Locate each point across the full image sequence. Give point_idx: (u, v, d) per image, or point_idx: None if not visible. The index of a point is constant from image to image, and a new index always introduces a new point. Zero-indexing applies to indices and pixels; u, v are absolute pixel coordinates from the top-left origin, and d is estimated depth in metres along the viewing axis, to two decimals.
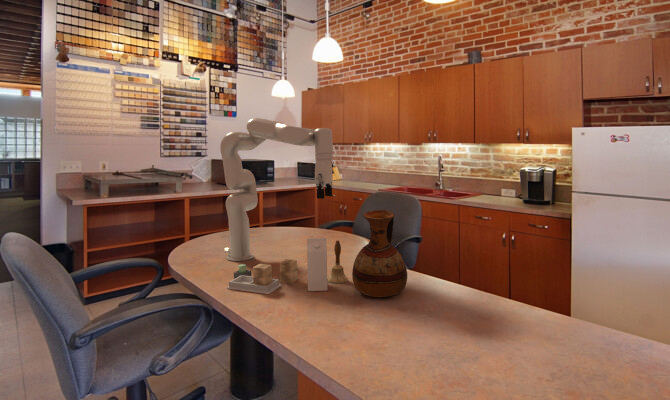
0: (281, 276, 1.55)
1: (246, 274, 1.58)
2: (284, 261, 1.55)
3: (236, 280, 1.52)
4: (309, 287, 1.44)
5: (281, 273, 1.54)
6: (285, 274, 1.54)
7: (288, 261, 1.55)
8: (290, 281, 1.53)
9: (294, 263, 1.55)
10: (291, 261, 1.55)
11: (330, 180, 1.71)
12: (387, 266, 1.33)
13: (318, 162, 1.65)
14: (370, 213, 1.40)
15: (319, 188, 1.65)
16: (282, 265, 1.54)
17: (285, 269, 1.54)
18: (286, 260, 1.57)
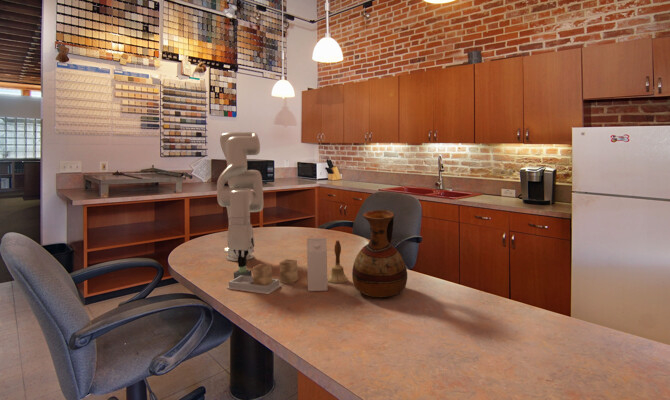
0: (281, 276, 1.55)
1: (246, 274, 1.58)
2: (284, 261, 1.55)
3: (236, 280, 1.52)
4: (309, 287, 1.44)
5: (281, 273, 1.54)
6: (285, 274, 1.54)
7: (288, 261, 1.55)
8: (290, 281, 1.53)
9: (294, 263, 1.55)
10: (291, 261, 1.55)
11: None
12: (387, 266, 1.33)
13: (249, 226, 1.55)
14: (370, 213, 1.40)
15: None
16: (282, 265, 1.54)
17: (284, 269, 1.54)
18: (286, 259, 1.57)
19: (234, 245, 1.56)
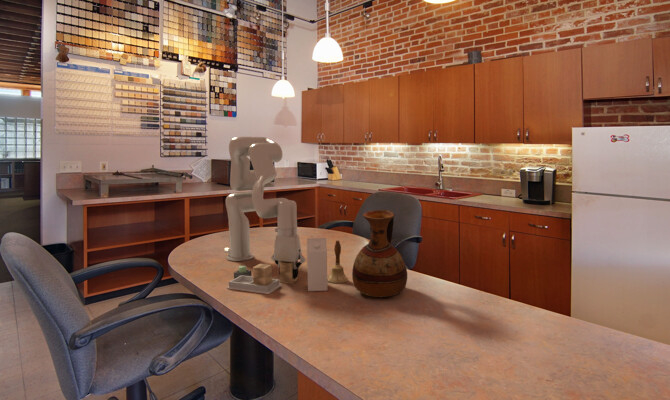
0: (281, 276, 1.54)
1: (246, 274, 1.58)
2: None
3: (236, 280, 1.52)
4: (309, 287, 1.44)
5: (281, 273, 1.54)
6: (285, 274, 1.54)
7: None
8: (290, 281, 1.53)
9: None
10: None
11: None
12: (387, 266, 1.33)
13: (297, 238, 1.52)
14: (370, 213, 1.40)
15: (297, 267, 1.54)
16: (282, 265, 1.54)
17: (285, 269, 1.54)
18: None
19: (281, 257, 1.53)
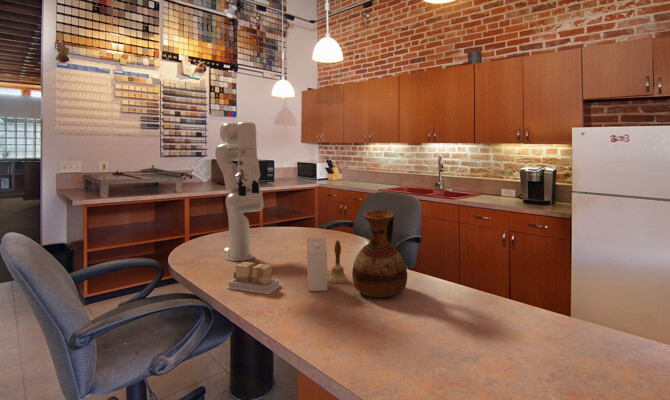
0: (248, 280, 1.48)
1: None
2: (244, 265, 1.48)
3: None
4: (309, 287, 1.44)
5: (248, 277, 1.48)
6: (250, 276, 1.50)
7: (246, 264, 1.50)
8: None
9: None
10: (246, 263, 1.51)
11: None
12: (387, 266, 1.33)
13: None
14: (370, 213, 1.40)
15: None
16: (248, 268, 1.48)
17: (250, 271, 1.49)
18: (239, 264, 1.49)
19: (252, 176, 1.61)
